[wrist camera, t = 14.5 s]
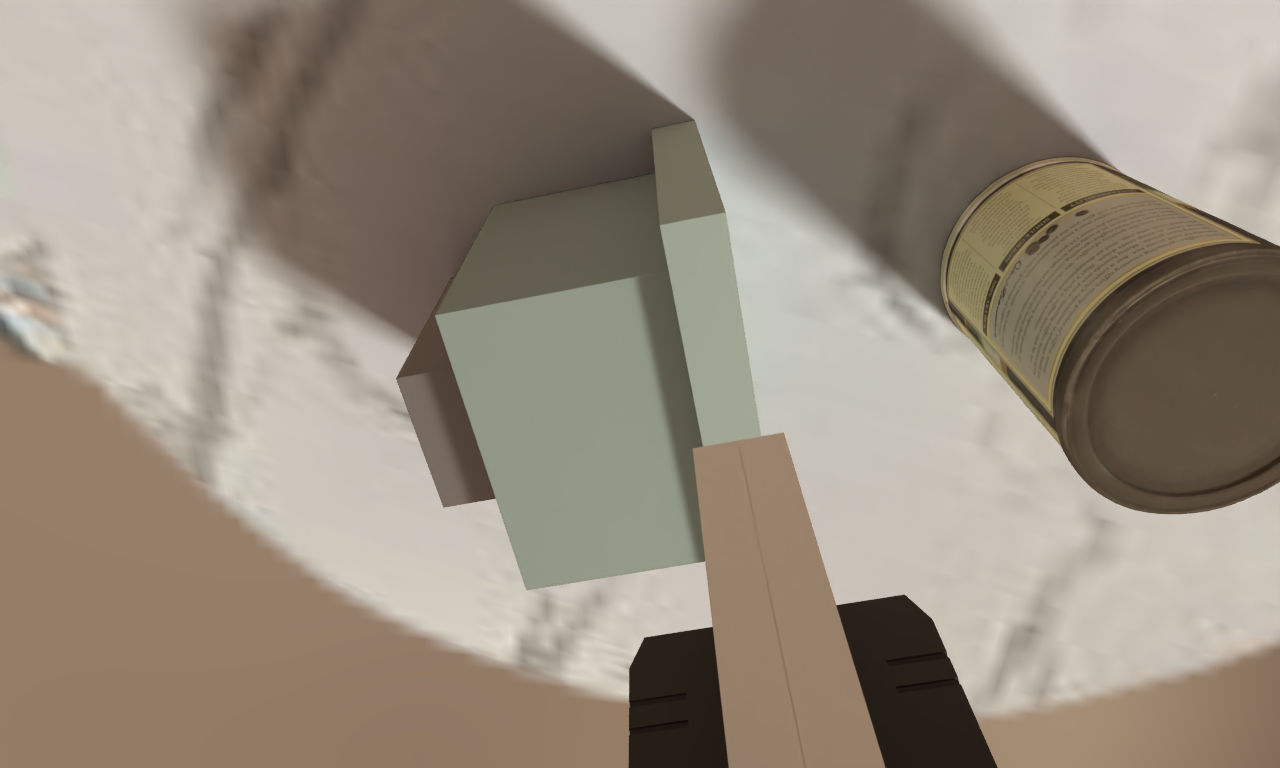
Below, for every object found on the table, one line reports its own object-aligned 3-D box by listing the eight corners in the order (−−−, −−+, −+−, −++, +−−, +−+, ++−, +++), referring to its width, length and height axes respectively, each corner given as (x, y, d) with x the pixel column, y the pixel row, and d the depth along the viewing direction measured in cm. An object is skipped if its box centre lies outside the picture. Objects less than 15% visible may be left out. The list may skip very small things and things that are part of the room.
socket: (563, 453, 47) (535, 655, 34) (481, 164, 40) (405, 275, 27) (744, 421, 46) (789, 615, 33) (694, 120, 39) (725, 212, 26)
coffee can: (1188, 170, 40) (1437, 273, 28) (1103, 367, 45) (1284, 531, 33) (976, 138, 40) (1133, 229, 27) (911, 341, 44) (1021, 499, 32)
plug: (485, 384, 45) (443, 507, 35) (451, 277, 42) (395, 378, 33) (674, 349, 44) (685, 465, 34) (651, 238, 42) (656, 329, 32)
